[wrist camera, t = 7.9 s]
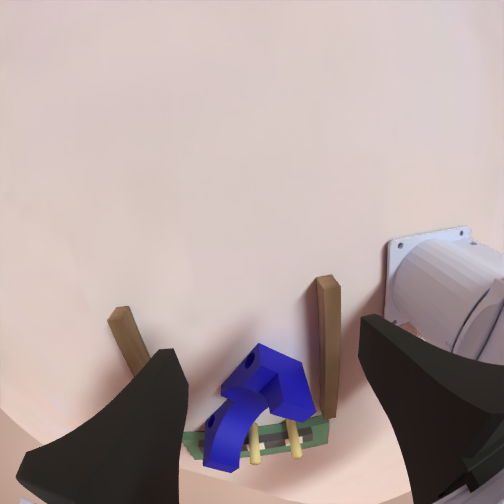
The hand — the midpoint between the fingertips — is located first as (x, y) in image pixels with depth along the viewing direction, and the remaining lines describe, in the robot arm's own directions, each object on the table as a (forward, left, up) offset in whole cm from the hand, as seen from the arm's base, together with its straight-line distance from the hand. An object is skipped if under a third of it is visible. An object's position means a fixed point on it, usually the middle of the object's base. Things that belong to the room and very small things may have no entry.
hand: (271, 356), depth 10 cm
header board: (+3, +21, -10) cm, 24 cm away
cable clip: (+3, +13, -10) cm, 17 cm away
